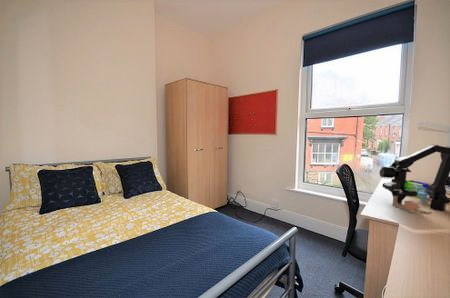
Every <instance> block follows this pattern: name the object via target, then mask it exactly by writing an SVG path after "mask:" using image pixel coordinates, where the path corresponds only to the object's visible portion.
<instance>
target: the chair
mask: <svg viewBox="0 0 450 298" xmlns="http://www.w3.org/2000/svg"><path fill="white" fill-rule="evenodd" d="M413 188H416V189H417V191H416V192H417V195H418V196H419V198H420V201H421V202H423V203H427V197H429V195H428V194H427V193H426V191H425V193H424V192H422V191H421V190H422V189H425V190H426V188H424V187H421V186H419V185H412V190H414V189H413ZM419 190H420V191H419ZM421 196H423V198H422V197H421Z"/></svg>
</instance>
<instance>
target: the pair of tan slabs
mask: <svg viewBox="0 0 450 298" xmlns="http://www.w3.org/2000/svg"><path fill="white" fill-rule="evenodd" d="M418 209H420V212H422V213H421V214H431V213H430V211H431V210H428V209H426V208H423V207H421V208H418ZM425 209H426V210H425Z"/></svg>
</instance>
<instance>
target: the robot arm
mask: <svg viewBox="0 0 450 298" xmlns="http://www.w3.org/2000/svg"><path fill="white" fill-rule="evenodd" d="M434 153H439V154H440V158H441V161H440V164H439V167H438V170H437V172H436V175H435V177H434V181H433V182H432V183H431V184H429V183H427V184H428V185H427V189H426V193H427V194H428V197H429V199H431V200H430V204H429V208H430V209H432V210H434V211H439V212H440V211H442V212H443V211H446V206H447V204H448V205H449V204H450V198H449V197H448V196H447V189H446V183H447V181H448V178H449V175H450V146H443V145H442V146H441V145H439V144H430V145H428V146H427V147H426V146H425V147H424V148H422V149H420V150H417V151H416V152H414V153H411V154H409V155H405V156H400V157H396V158H395V159H394V161H393V162H392V163H391V164H390V165H389V166H381V168H380V170H379V176H380V178H389V179H391V178H392V179H391V181H388V182H384V183H382V185H381V186H382V188H384V189H385V190H387V191H389V192H390V193H391V195H392V197H393V196H394V195H398V203H401V202H402V203H403V201H404V199H405V198H406V197H410V196H417V192H416V191H414V190H405V189H407V187H405V184H406V182H408V181H409V180H407V176H408V175H407V174H408V173H412V171H411V169H410V168H409V167H411V166H412V165H414V163H415V162H417V161H420V160H422V159H423V158H426V157H428V156H430V155H432V154H434Z"/></svg>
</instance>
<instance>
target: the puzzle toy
mask: <svg viewBox="0 0 450 298" xmlns="http://www.w3.org/2000/svg"><path fill="white" fill-rule="evenodd" d="M407 181H408V182H406V184H405V187H407V189H405V190H412V185H419V186H421V187H424V188H426V189H427V185H428V184H429V183H426V182H422V181H421V182H420V181H416V180H411V179H410V180H407ZM413 189H414V191H417V189H416V188H413ZM419 191H420V190H419ZM421 191H422V192H424V193H425V191H426V190H425V189H422V190H421ZM409 197H410V198H416V199H418V200H419V199H420V198H419V196H418V195H417V196H409ZM421 197H422V199H423V196H421Z"/></svg>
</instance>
